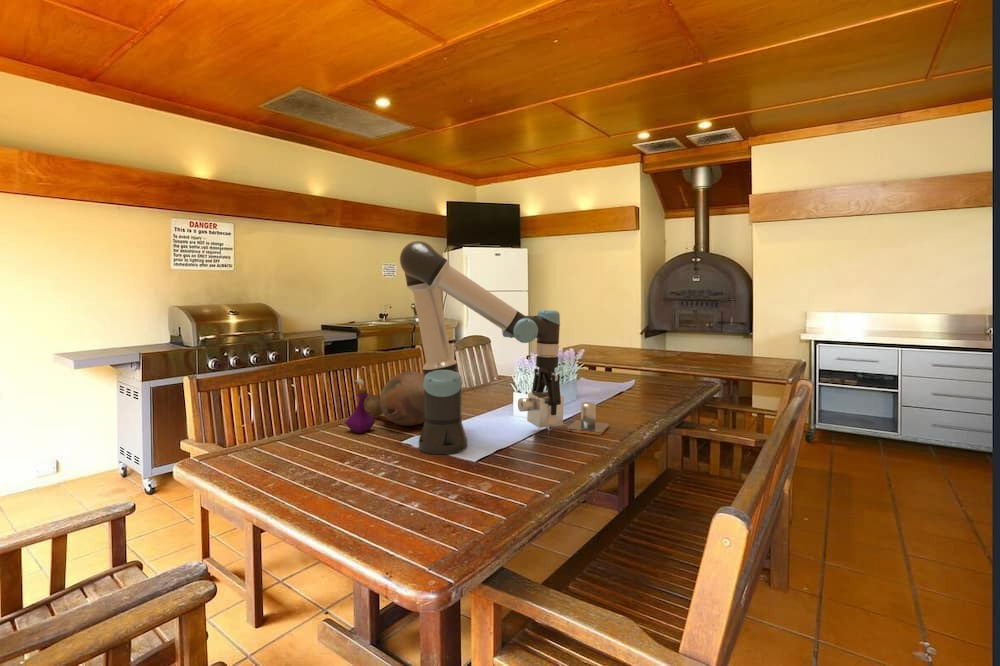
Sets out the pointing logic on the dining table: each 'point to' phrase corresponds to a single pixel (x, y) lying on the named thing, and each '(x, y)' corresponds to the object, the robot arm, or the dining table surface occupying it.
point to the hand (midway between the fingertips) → (544, 420)
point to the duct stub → (588, 419)
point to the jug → (400, 400)
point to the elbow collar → (540, 409)
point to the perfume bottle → (360, 413)
